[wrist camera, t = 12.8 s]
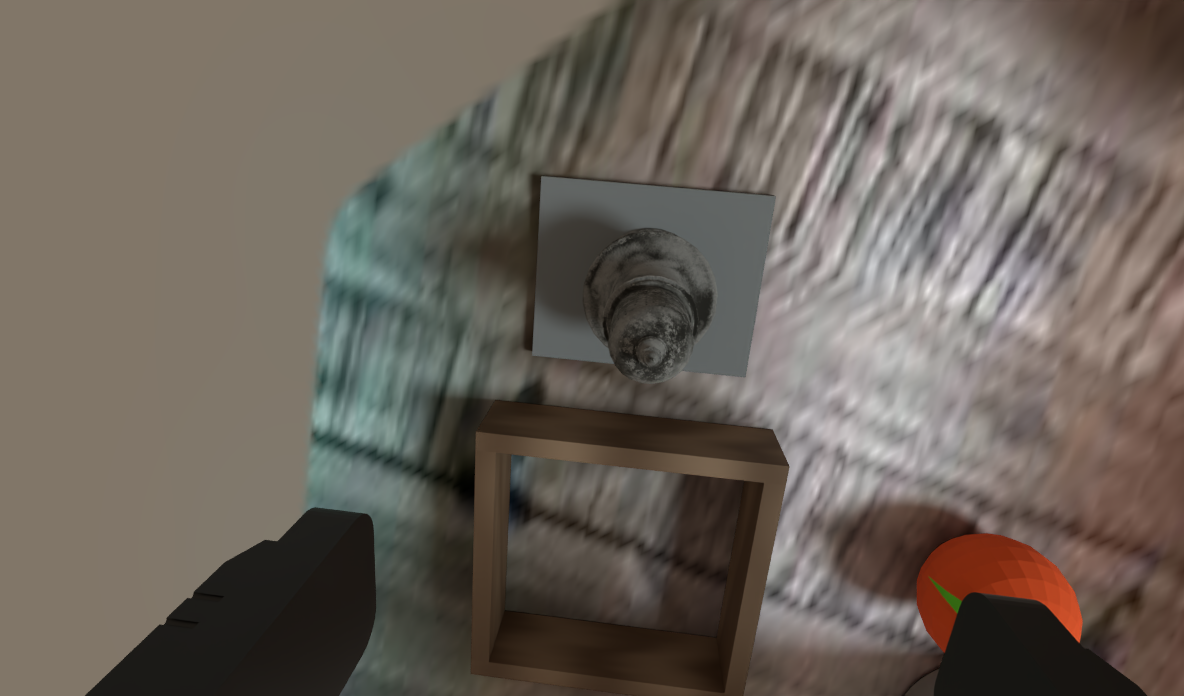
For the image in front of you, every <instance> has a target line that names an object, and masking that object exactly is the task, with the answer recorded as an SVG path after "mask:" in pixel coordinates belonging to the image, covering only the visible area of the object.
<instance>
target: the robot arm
mask: <svg viewBox="0 0 1184 696" xmlns="http://www.w3.org/2000/svg"><path fill="white" fill-rule="evenodd" d="M375 613H376V584H375V555H374V529H373V522H372V519H371V517H370V516H369V515H368V514H363V513H355V512H348V511H340V510H332V509H324V508H311V509H310V510H308V511H307V512H306V513H305V514H304V515H303V516H302V517H301V518H300V519H299V520H298V521H297V522H296V523H295V524H294V525H293V526H292V527H291V528H290V529H289V530H288V531H287V532H286V533H285V534H284V535H283V536H282V537H281V538H280V539H279V540H278V541H270V540H264V541H262V542H261V543H259V544H257V545H255V546H253V547H251V548H250V549H248V550H247V551H244V552H242V553H241V554H239V555H237V556H235V557H234V558H232V559H230V560H228V561H226V562H225V563H224V564H223V565H221V566H220V567H219V568H218V569H217V570H216V571H215V572H214V573H213V574H212V575H211V576H210V577H209V578H208V579H207V580H206V581H205V582H204V583H203V584H202V585H201V586H200V587H199V588H198V589H196V590H195V591H194V594H193V597H192V598H191V599H190V598H187V599H186V600H185V601H184V602H183V603H182V604H181V605H180V606H178V607H177V608H176V609H175V610H174V611H173V612H172V613H171V614H170V615H169V616H168V617H167V620H166V623H165V624H164V625H159V626H158V627H156V628H155V629H154V630H153V631H152V632H151V633H150V634H149V635H148V636H147V637H146V638H145V639H144V640H143V641H142V642H141V643H140V644H139V645H138V646H137V647H136V648H134V649H133V650H132V652H130V653H129V654H128V655H127V656H126V657H125V658H124V659H123V660H122V661H121V662H120V663H119V664H118V665H117V666H116V667H114V668H113V669H112V670H111V671H110V672H109V673H108V674H107V675H106V676H105V677H104V678H103V679H102V680H101V681H100V682H99V683H98V684H97V685H96V686H95V687H94V688H93V689H92V690H90V691H89V692H88V693H87V694H86V695H85V696H339V695H340V693H341V691H342V690H343V688H344V686H345V684H346V683H347V681H348V679H349V677H350V676H351V674H352V672H353V671H354V669H355V667H356V665H357V664H358V662H359V660H360V658H361V657H362V655H363V653H364V651H365V649H366V646H367V644H368V641H369V639H370V636H371V632H372V629H373V625H374V620H375ZM905 696H1147V695H1146V694H1145V693H1144V692H1143V691H1142V689H1141V688H1140V687H1139V686H1138V685H1136V684H1135V683H1134V682H1132V681H1131V680H1130V679H1128V678H1127V677H1126V676H1124V675H1123V674H1121V673H1120V672H1119V671H1117V670H1116V669H1115V668H1113V667H1112V666H1111V665H1109V664H1108V663H1107V662H1105V661H1104V660H1103V659H1101V658H1100V657H1099V656H1097V655H1096V654H1095V653H1093V652H1092V651H1091V650H1089V649H1085V648H1083V647H1082V646H1081V644H1080V643H1079V642H1078V641H1077V640H1076V639H1075V638H1074V636H1073V635H1072V634H1071V633H1070V632H1069V631H1068V630H1067V629H1066V627H1065V626H1064V625H1063V624H1062V623H1061V622H1060V621H1059V619H1058V618H1057V617H1056V616H1055V615H1054V614H1053V613H1052V612H1051V610H1050V609H1049V608H1048V607H1047V606H1046V605H1044V604H1043V603H1041V602H1039V601H1037V600H1033V599H1025V598H1017V597H1009V596H1001V595H993V594H985V593H977V592H973V593H970V594H968V595H967V596H966V597H965V598H964V599H963V601H962V602H961V605H960V607H959V610H958V613H957V616H956V619H955V622H954V626H953V629H952V632H951V635H950V638H949V641H948V644H947V647H946V650H945V653H944V656H943V659H942V662H941V665H940V669H937V670H935V671H933V672H932V673H930V674H928V675H926V676H924V677H923V678H922V679H920V680H919V681H918V682H917V683H916V684H914V685H913V686H912V687H911V688H910V689H909V690H908V692H907V693H906V694H905Z"/></svg>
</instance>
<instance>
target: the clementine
mask: <svg viewBox="0 0 1184 696" xmlns="http://www.w3.org/2000/svg"><path fill="white" fill-rule="evenodd" d="M973 592H977V593H985V594H993V595H1001V596H1009V597H1017V598H1025V599H1033V600H1037V601H1039V602H1041V603H1043V604H1044V605H1046V606H1047V607H1048V608H1049V609H1050V610H1051V612H1052V613H1053V614H1054V615H1055V616H1056V617H1057V618H1058V619H1059V621H1060V622H1061V623H1062V624H1063V625H1064V626H1065V627H1066V629H1067V630H1068V631H1069V632H1070V633H1071V634H1072V635H1073V636H1074V638H1075V639H1076V640H1077V641H1078V642H1080V637H1081V630H1082V617H1081V613H1080V609H1079V605H1078V602H1077V598H1076V595H1075V592H1074V590H1073V589H1072V587H1071V586H1070V585H1069V583H1068V582H1067V580H1066V579H1065V577H1064V576H1063V575H1062V573H1061V572H1060V571H1059V569H1058V568H1057V566H1056V565H1054V564H1053V563H1052V562H1050V561H1049V560H1048V559H1046V558H1045V557H1044V556H1043V555H1041V554H1040V553H1039V552H1037V551H1036V550H1035V549H1033V548H1032V547H1031V546H1028V545H1026V544H1023V543H1021V542H1018V541H1016V540H1013V539H1010V538H1007V537H1005V536H1001V535H994V534H988V533H984V534H970V535H963V536H960V537H956V538H953V539H950V540H949V541H947V542H945V543H943V544H941V545H940V546H939V547H937V548H936V549H935V550H934V551H933V552H932V553H931V554H930V556H929V557H928V558H927V560H926V561H925V563H924V564H923V566H922V567H921V569H920V572H919V575H918V578H917V606H918V609H919V612H920V615H921V618H922V620H923V623H924V626H925V628H926V631H927V632H928V633H929V634H930V636H931V637H932V638H933V640H934V641H935V642H936V643H937V645H938V646H939V647H940V648H941V650H942V651H943V652H944V653H945V650H946V647H947V644H948V641H949V638H950V635H951V632H952V629H953V626H954V622H955V619H956V616H957V613H958V610H959V607H960V605H961V602H962V601H963V599H964V598H965V597H966V596H967V595H968V594H970V593H973Z"/></svg>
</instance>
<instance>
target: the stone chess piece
mask: <svg viewBox="0 0 1184 696" xmlns="http://www.w3.org/2000/svg"><path fill="white" fill-rule="evenodd" d="M717 298H718V293H717V286H716V279H715V276H714V274H713V272H712V269H711V267H710V265H709V263H708V261H707V260H706V259H705V257H704V256H703V255H702V254H701V253H700V251H699V250H698V249H697V248H696V247H695V246H693V245H692V244H690V243H689V242H687V241H686V240H685V239H683V238H681V237H679V236H677V235H676V234H674V233H671V232H668V231H665V230H663V229H654V228H644V229H639V230H634V231H631V232H629V233H627V234H625V235H623V236H621V237H619V238H618V239H617V240H615V241H613V242H612V243H611V244H609V245H608V246H607V247H606V248H605V249H604V250H602V251H601V252H600V253H599V254H598V256H597V257H596V259H595V260H594V262H593V263H592V265H591V266H590V268H589V270H588V273H587V276H586V279H585V282H584V287H583V306H584V311H585V316H586V319H587V321H588V323H589V325H590V327H591V329H592V331H593V333H594V334H595V335H596V336H597V338H598V339H599V340H600V341H601V342H602V343H603V344H604V345H605V346H606V347H607V348H609V353H610V356H611V358H612V360H613V362H614V364H615V366H616V367H617V368H618V369H619V371H620V372H621V373H622V374H623V375H625V376H627V377H628V378H630V379H631V380H634V381H637V382H640V383H648V384H654V383H660V382H664V381H666V380H669V379H671V378H673V377H674V376H676V375H677V374H678V373H680V372H681V371H682V370H683V368H684V367H685V366H686V365H687V363H688V362H689V359H690V357H691V355H692V352H693V346H694V345H695V344H697V343H698V342H699V341H700V339H701V338H702V337H703V336H704V334H705V333H706V332H707V330H708V329H709V327H710V325H711V322H712V320H713V318H714V315H715V313H716V306H717Z"/></svg>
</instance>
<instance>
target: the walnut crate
mask: <svg viewBox="0 0 1184 696" xmlns="http://www.w3.org/2000/svg"><path fill="white" fill-rule="evenodd" d="M511 454H513V455H522V456H531V457H539V458H548V459H557V460H566V461H575V462H584V463H593V464H602V465H610V466H619V467H628V468H637V469H646V470H655V471H664V472H673V473H681V474H690V475H699V476H708V477H717V478H726V479H735V480H744V486H743V491H742V497H741V503H740V508H739V514H738V520H737V525H736V531H735V536H734V542H733V548H732V553H731V559H730V565H729V570H728V576H727V582H726V587H725V593H724V598H723V604H722V610H721V615H720V621H719V627H718V632H717V638H715V637H707V636H699V635H691V634H684V633H676V632H668V631H660V630H652V629H644V628H637V627H629V626H621V625H613V624H605V623H597V622H590V621H582V620H574V619H566V618H558V617H550V616H543V615H535V614H527V613H519V612H511V611H505V593H506V569H507V545H508V521H509V497H510V473H511ZM788 471H789V464H788V462H787V460H786V458H785V456H784V453H783V451H782V449H781V447H780V445H779V442H778V440H777V438H776V436H775V434H774V432H773V430H769V429H760V428H751V427H742V426H732V425H723V424H714V423H704V422H695V421H686V420H677V419H667V418H658V417H649V416H639V415H630V414H621V413H612V412H602V411H593V410H584V409H574V408H565V407H556V406H547V405H537V404H528V403H519V402H509V401H500V400H495V402H494V403H493V405H492V406H491V408H490V410H489V411H488V413H487V415H486V416H485V418H484V419H483V421H482V423H481V424H480V426H479V428H478V429H477V431H476V451H475V498H474V545H473V592H472V639H471V674H476V675H483V676H490V677H498V678H505V679H513V680H520V681H528V682H535V683H543V684H550V685H558V686H565V687H572V688H580V689H587V690H595V691H602V692H610V693H617V694H625V695H632V696H743V694H744V689H745V684H746V679H747V674H748V669H749V664H750V659H751V654H752V649H753V645H754V640H755V635H756V630H757V625H758V620H759V615H760V610H761V605H762V600H763V595H764V590H765V585H766V580H767V575H768V570H769V565H770V560H771V555H772V551H773V546H774V541H775V536H776V531H777V526H778V521H779V516H780V511H781V506H782V501H783V496H784V491H785V486H786V481H787V476H788Z"/></svg>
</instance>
